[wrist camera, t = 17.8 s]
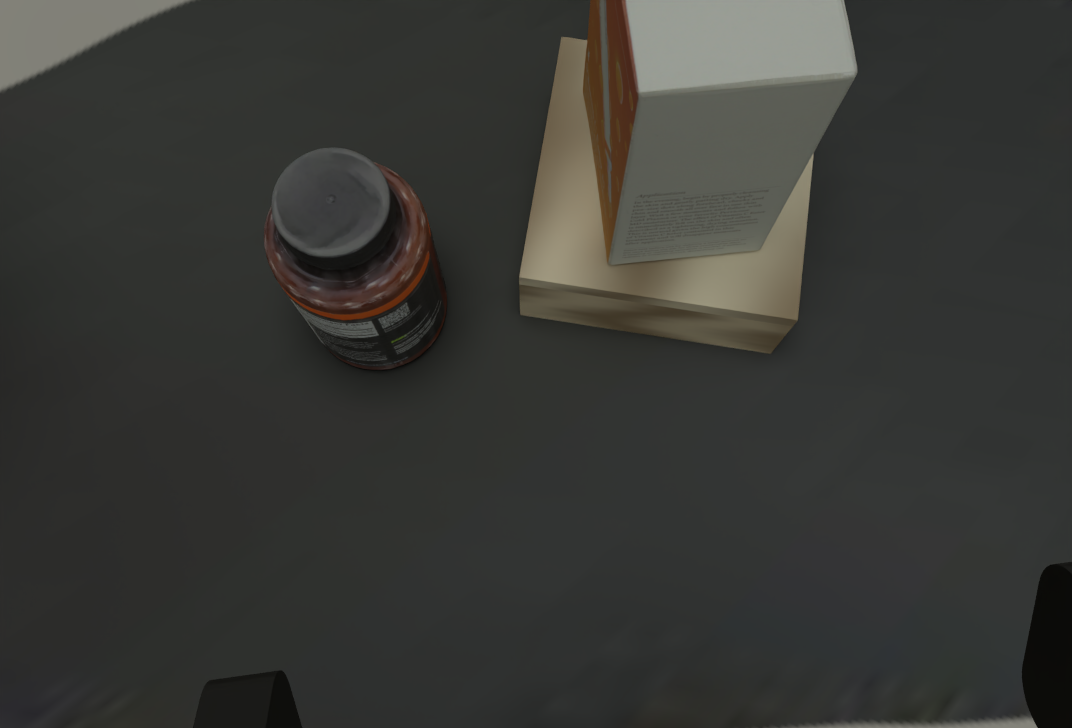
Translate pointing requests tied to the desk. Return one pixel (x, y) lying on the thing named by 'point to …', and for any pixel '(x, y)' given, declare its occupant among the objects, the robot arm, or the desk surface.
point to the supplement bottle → (356, 258)
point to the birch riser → (652, 286)
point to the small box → (707, 116)
